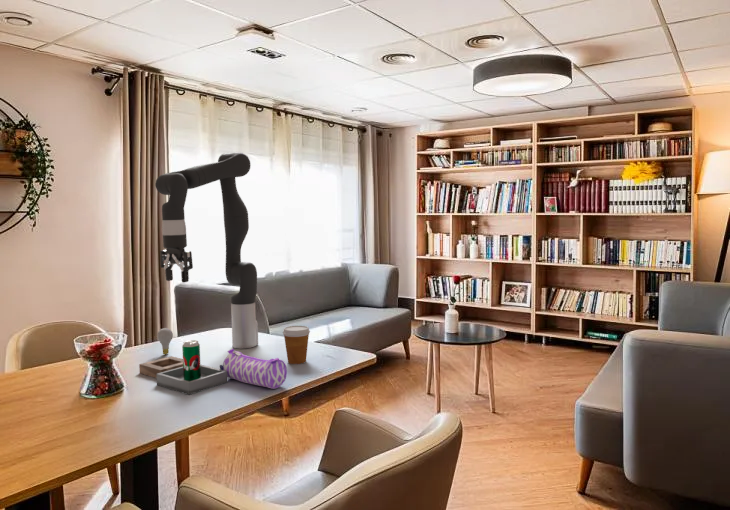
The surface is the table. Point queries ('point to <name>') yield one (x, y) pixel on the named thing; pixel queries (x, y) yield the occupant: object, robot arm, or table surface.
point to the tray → (208, 380)
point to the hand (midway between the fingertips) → (177, 281)
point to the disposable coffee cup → (296, 343)
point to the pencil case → (255, 370)
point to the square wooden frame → (160, 366)
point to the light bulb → (165, 339)
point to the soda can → (191, 360)
